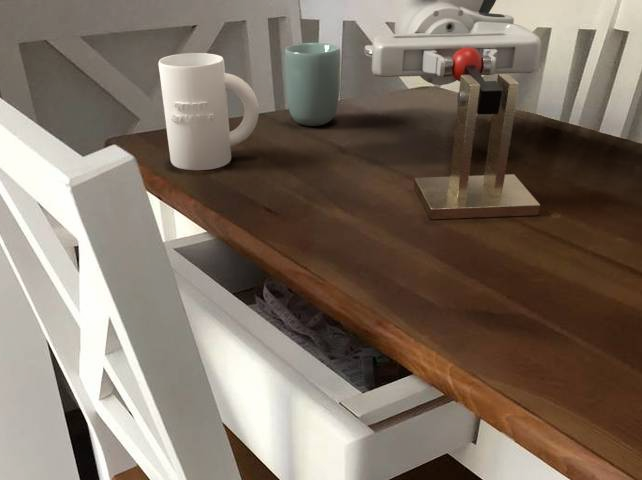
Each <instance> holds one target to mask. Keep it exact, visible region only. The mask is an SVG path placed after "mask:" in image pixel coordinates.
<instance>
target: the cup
mask: <svg viewBox="0 0 642 480" xmlns="http://www.w3.org/2000/svg"><path fill="white" fill-rule="evenodd" d="M341 55H342V54H341V47H340V46H339V45H337V44H333V43H326V42H325V43H324V42H302V43H296V44H291V45H288V46H287V47H285V49H284V80H285V82H284V83H285V92H286V93H285V95H286V102H287V103H286V104H287V107H288V111H289V115H290V117H291V118H292V119H293V121H294V122H295V123H297V124H299V125H302V126H306V127H321V126H324V125H326V124H328V123H330V122H331V121H332V120H333V119H334V117H335V115H336V114H337V111H338V107H339V100H340V90H341V62H342V61H341Z"/></svg>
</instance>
